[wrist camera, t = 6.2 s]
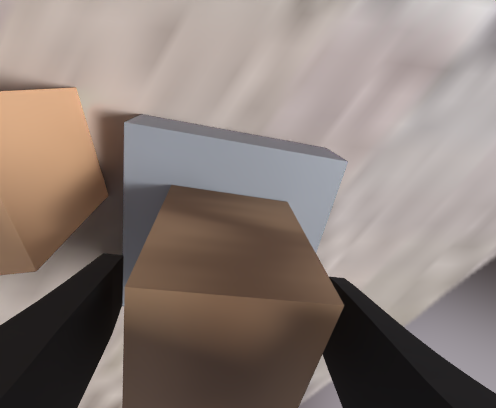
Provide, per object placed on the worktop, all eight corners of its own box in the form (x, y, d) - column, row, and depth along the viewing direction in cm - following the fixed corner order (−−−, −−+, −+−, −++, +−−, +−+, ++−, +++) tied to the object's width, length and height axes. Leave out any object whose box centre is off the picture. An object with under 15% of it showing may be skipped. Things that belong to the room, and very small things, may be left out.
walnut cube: (162, 280, 13) (122, 424, 8) (171, 184, 11) (124, 287, 6) (262, 289, 14) (290, 424, 8) (287, 201, 12) (344, 305, 6)
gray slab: (138, 267, 16) (121, 306, 13) (144, 113, 13) (124, 122, 10) (281, 280, 18) (293, 317, 15) (323, 145, 14) (348, 161, 11)
